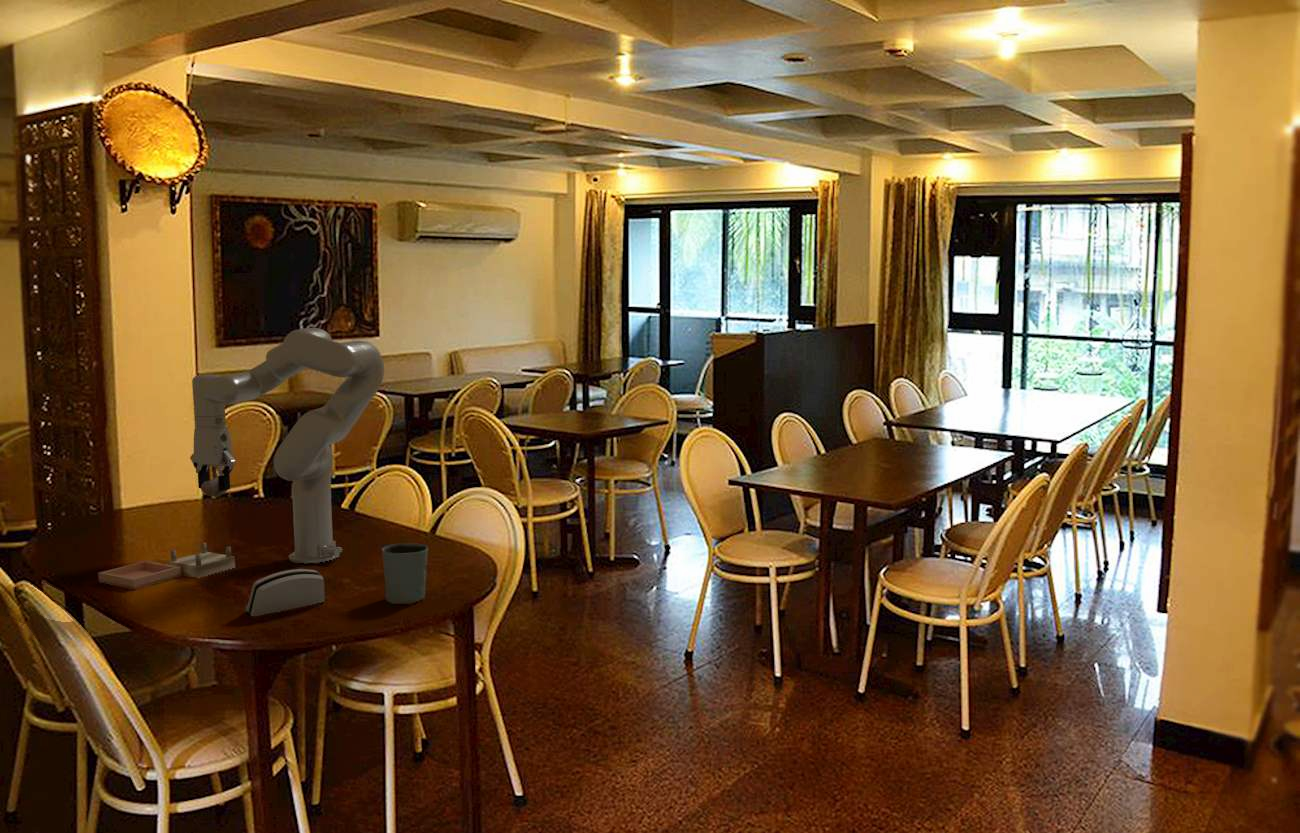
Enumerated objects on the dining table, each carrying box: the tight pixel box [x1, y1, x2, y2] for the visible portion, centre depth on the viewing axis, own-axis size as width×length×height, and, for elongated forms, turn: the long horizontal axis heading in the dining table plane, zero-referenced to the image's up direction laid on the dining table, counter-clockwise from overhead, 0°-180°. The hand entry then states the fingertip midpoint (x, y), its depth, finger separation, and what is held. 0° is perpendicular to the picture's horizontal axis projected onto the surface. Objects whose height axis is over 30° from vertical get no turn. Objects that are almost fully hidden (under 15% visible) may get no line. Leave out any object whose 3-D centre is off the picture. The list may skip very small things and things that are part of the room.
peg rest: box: [167, 542, 236, 579], centre depth 278 cm, size 11×11×6 cm
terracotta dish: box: [97, 560, 182, 590], centre depth 270 cm, size 13×13×2 cm
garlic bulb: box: [200, 466, 228, 498], centre depth 292 cm, size 8×7×8 cm
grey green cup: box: [381, 542, 429, 603], centre depth 252 cm, size 10×10×12 cm
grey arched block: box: [244, 568, 326, 617], centre depth 245 cm, size 17×5×10 cm, turn 131°
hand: (214, 488), depth 293 cm, fingers closed on garlic bulb, 7 cm apart
